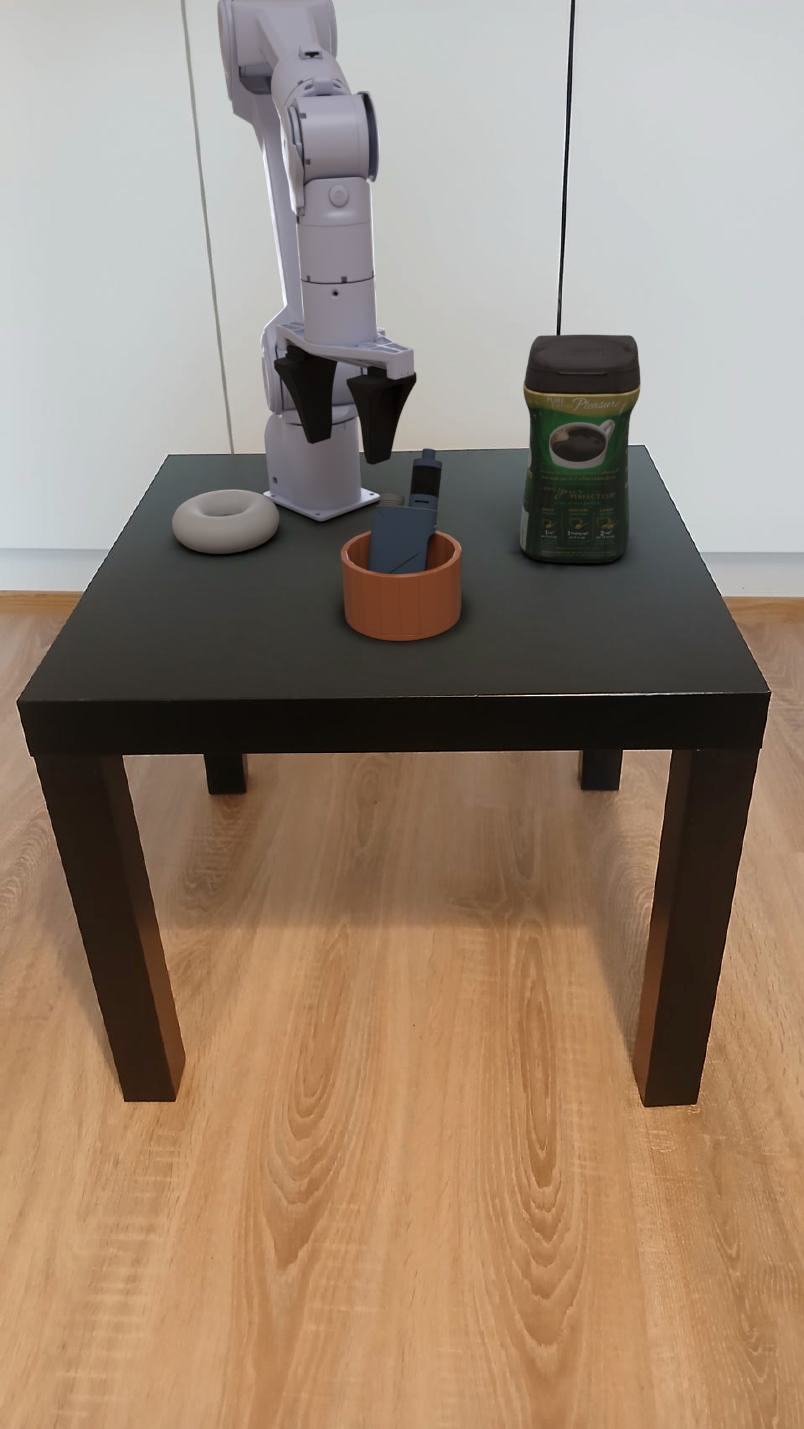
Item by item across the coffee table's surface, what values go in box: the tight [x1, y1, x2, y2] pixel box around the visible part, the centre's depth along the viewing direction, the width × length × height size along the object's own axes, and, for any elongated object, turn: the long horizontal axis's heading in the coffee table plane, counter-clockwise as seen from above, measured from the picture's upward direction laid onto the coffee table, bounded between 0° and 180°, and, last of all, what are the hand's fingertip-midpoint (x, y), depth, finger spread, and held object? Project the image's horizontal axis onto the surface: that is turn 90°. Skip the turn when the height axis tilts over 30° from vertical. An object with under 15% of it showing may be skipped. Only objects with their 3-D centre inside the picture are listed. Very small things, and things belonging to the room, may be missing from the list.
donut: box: [171, 489, 281, 555], centre depth 98 cm, size 10×3×10 cm
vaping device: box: [367, 447, 443, 574], centre depth 85 cm, size 3×5×12 cm
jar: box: [340, 530, 463, 642], centre depth 84 cm, size 9×9×6 cm
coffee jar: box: [519, 334, 642, 564], centre depth 90 cm, size 10×8×19 cm
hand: (348, 450), depth 88 cm, fingers open, 7 cm apart
